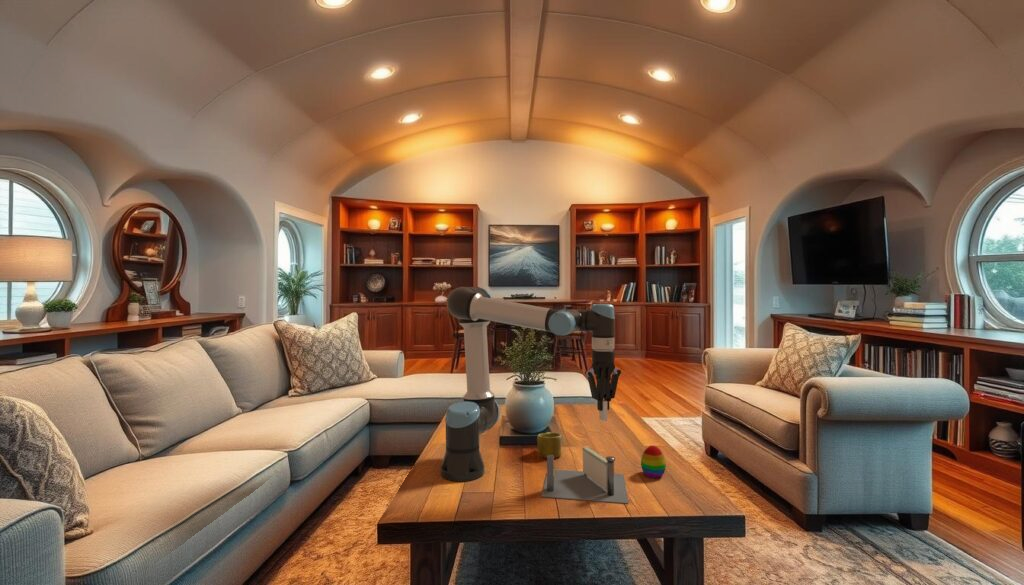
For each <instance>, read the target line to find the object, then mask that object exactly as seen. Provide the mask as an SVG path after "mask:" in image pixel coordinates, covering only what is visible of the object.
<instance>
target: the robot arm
mask: <svg viewBox="0 0 1024 585" xmlns="http://www.w3.org/2000/svg"><path fill="white" fill-rule="evenodd" d="M446 308H447V311H448V312H449V314H450V315H451V316H452V317H454V318H455V319H458V322H459V325H460V326H461V327H462V328H463V336H464V337H463V338H464V356H465V375H466V389H467V390H466V393H464V395H463V396H462V397H463V401H460V402H456V403H453V404H451V405H449V406H448V407H447V409H446V411H445V418H444V420H445V453H444V456H443V459H442V462H441V465H440V476H441V477H442V478H443V479H445V480H447V481H452V482H469V481H473V480H478V479H479V478H481V477H483V476H484V474H485V464H484V460H483V457H482V454H481V451H480V436H481V435H483V434H484V433H485V432H487V431H489V430H491V429H492V428H493V427H495V425H496V424H497V423H498V421H499V419H500V416H501V410H500V409H501V408H500V406H499V404H498V402H497V401H496V399H495V393H494V392H493V391H491V383H490V366H489V350H488V349H489V348H488V347H489V346H488V345H489V344H488V330H487V328H488V326H489V324H490V323H491V322H496V323H500V324H507V325H511V326H512V325H513V326H517V327H523V328H528V329H533V330H538V331H544V332H549V333H552V334H554V335H555V336H561V337H562V336H568V335H570V334H571V333H575V332H577V333H578V332H579V333H580V332H581V333H582V332H583V333H585V332H587V333H589V332H590V333H591V349H592V350H591V361H592V364H591V367H590V369H589V370H586V371H584V374H585V376H586V377H587V381H588V385H589V386H588V387H589V390H590V394H591V398H592V399H593V400H595V401H596V402H597V403H596V404H597V410H598V412H599V415H598V418H599V419H598V420H601V421H602V422H608V411H609V410H610V402H612V399H615V397H616V392H617V387H618V383H619V378H620V375H621V373H622V370H621V369H619V368H617V367H616V365H615V358H616V357H615V356H616V355H615V354H616V353H615V332H616V331H615V326H616V324H615V320H616V317H615V306H614V305H612V304H611V303H610V304H609V303H593V304H592V305H591V309H570V308H567V309H566V308H565V309H555V308H549V307H544V306H536V305H532V304H525V303H519V302H514V301H507V300H503V299H498V298H497V299H496V298H493V296H492V294H491V293H490V292H489V291H488V290H487V289H485V288H483V287H480V286H460V287H457V288H454V289H453V290H451V292H449V294H448V296H447V299H446Z"/></svg>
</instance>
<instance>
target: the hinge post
mask: <svg viewBox="0 0 1024 585" xmlns="http://www.w3.org/2000/svg"><path fill="white" fill-rule="evenodd" d="M605 459H606V460H607V495H609V496H613V495H614V474H615V461H616V457H615V456H606V457H605Z"/></svg>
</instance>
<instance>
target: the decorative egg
mask: <svg viewBox="0 0 1024 585" xmlns="http://www.w3.org/2000/svg"><path fill="white" fill-rule="evenodd" d="M640 458H641V459H640V467H641V470H642V472H643V474H644V475H645V476H646V477H648V478H652V479H659V478H662V476H663V475H664V474H665V471H666V468H667V465H666V463H667V462H666V459H665V458H666V457H665V455H664V453H663V451H662V450H661V449H660V448H659V447H657V446H656V445H649V446H648V447H646V448H645V450H644V451H643V452H642V455H641V457H640Z"/></svg>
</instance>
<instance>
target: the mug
mask: <svg viewBox="0 0 1024 585" xmlns="http://www.w3.org/2000/svg"><path fill="white" fill-rule="evenodd" d="M562 439H563V438H562V434H560V433H557V432H551V431H547V432H545V433H544V432H543V433H539V434H538V435H537V436H536V442H537V450H538V455H539V457H540V458H542V459H547V456H548V455H554V459H557V458H560V457H561V456H562Z"/></svg>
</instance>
